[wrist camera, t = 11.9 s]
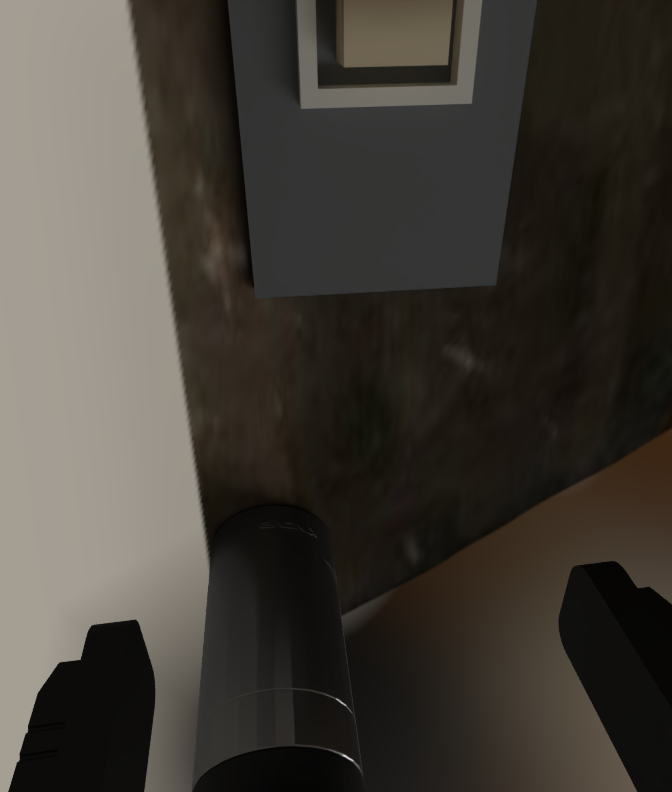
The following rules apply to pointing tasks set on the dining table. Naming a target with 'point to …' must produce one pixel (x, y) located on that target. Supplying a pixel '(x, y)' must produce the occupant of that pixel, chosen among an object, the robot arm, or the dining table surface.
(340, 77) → the mat
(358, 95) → the slot frame
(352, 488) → the dining table surface
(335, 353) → the dining table surface
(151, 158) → the dining table surface
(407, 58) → the tan rectangular block
